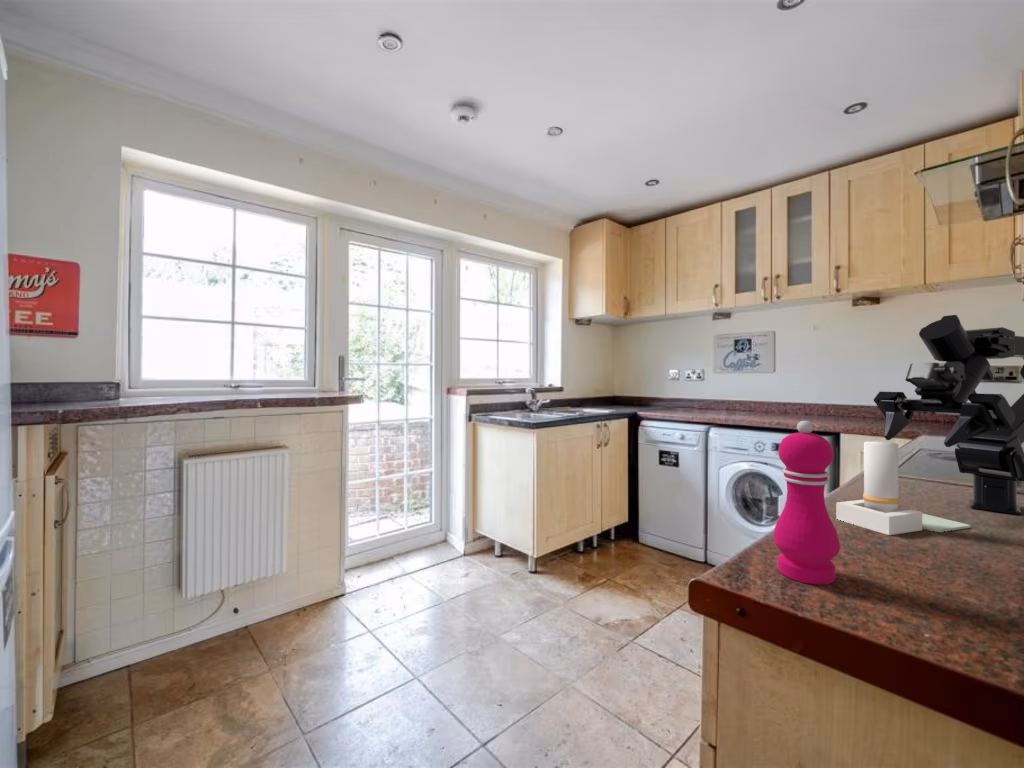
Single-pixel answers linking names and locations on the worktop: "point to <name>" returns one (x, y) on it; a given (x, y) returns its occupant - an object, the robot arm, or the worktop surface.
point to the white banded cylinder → (881, 476)
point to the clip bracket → (879, 518)
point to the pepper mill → (806, 510)
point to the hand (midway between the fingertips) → (914, 441)
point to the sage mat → (941, 524)
